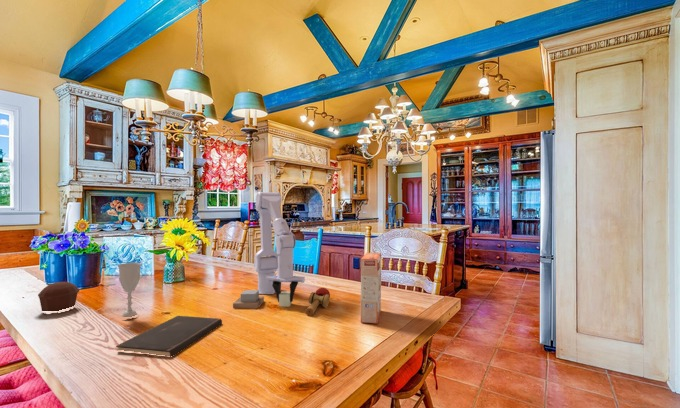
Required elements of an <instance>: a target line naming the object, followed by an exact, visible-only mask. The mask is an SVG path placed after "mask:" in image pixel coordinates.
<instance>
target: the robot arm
mask: <svg viewBox="0 0 680 408" xmlns="http://www.w3.org/2000/svg"><path fill="white" fill-rule="evenodd" d="M282 200H283V199H282V194H281V193H280V192H278V191H275V192H272V191H265V192H264V191H258V192H257V193H256V196H255V210H256V212H259V218H260V219H259V221H260V222H259V223H260V225H259V226H260V250H258V251H257V252H256V253H255V254H254V260H253V267H254V271H255V272H257V290H259V295H274V294H275V295H276V299H277V303H279V294H280V293H281V292H282V290H281V289H282V283H289V292H290V302H292V303H293V301H294V295H295V291H296V289H297V286H298V285H299V283H301V284H304V283H305V281H306V280H305V276H300V275H294V249H295V247H296V243H297V242H296V236H295V234H294V233H293V232H292V231H290V228H289V225H288V222H287V220H286V219H284V218H283V215H282V211H281V204H282ZM272 220H273V222H272ZM272 228H273V230H272ZM272 231H273V232H274V235H275V242H274V243H275V248H276V251H275V250H274V249H273V235H272V233H273V232H272ZM276 272H277V273H276Z"/></svg>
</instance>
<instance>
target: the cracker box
mask: <svg viewBox="0 0 680 408" xmlns="http://www.w3.org/2000/svg"><path fill="white" fill-rule="evenodd" d="M360 260H361V261H360V323H362V324H363V323H364V324H375V325H376V324H377V325H378V323H379V318H380V315H381V312H382V311H381V309H382V308H381V307H382V304H381V303H382V302H381V301H382V299H381V298H382V253H379V252H366V253H365V254H363V256H362V257H361V259H360Z"/></svg>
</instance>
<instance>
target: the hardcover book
mask: <svg viewBox="0 0 680 408" xmlns="http://www.w3.org/2000/svg"><path fill="white" fill-rule="evenodd" d="M219 325H220V326H222V325H223V320H222V319H221V318H217V317H216V318H215V317H214V318H213V317H202V316H201V317H200V316H187V315H176V316H174V317H172V318H169V319H168V320H166V321H164V322H162V323H159V324H158V325H155V326H154V327H151V328H150V329H148V330H146V331H144V332H142V333H139V334H138V335H136V336H134V337H130V338H129V339H127V340H126V341H123V342H121V343H119V344H117V345H115V348H117V351H118V350H124V351H134V352H141V353H149V354H156V355H165V356H170V357H171V356H173V355H175V354H176V355H178V354H179V353H181V352H182V351H184V350H185V349H186V347H187V346H188V347H190V346H191V345H193V344H194V343H196V342H197V341H199V340H201V339H202V338H203V337H205V336H206V335H208V334H210V333H211V332H212V331H214V330H216V329H217V328H219V327H220V326H219ZM216 327H217V328H216ZM213 329H214V330H213ZM211 330H212V331H211ZM210 331H211V332H210ZM207 333H208V334H207ZM204 335H205V336H204ZM201 337H202V338H201ZM198 339H199V340H198ZM195 341H196V342H195ZM193 342H194V343H193ZM192 343H193V344H192ZM190 344H191V345H190ZM189 345H190V346H189ZM188 347H187V348H188ZM184 348H185V349H184ZM183 349H184V350H183ZM181 350H182V351H181ZM180 351H181V352H180ZM178 352H179V353H178ZM177 353H178V354H177ZM176 355H175V356H176ZM173 357H174V356H173Z"/></svg>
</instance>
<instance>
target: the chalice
mask: <svg viewBox="0 0 680 408" xmlns="http://www.w3.org/2000/svg"><path fill="white" fill-rule="evenodd" d="M142 264H143V263H141V262H125V263H120V264H117V268H118V272H119V273H118V274H119V275H118V280H119V284H120V286H121V288H122V289H123V291H124V292H126V293H127V297H126V300H127V302H126V305H127V309H126V310H125V311H124V312H122V315H121V317H132V316H135V315H138V313H137V311H136V310H135V309H133V308H132V304H133V302H132V299H133V297H132V293H133V292H134V291H135V290H136V289H137V286H138V284H139V282H140V280H141V267H142Z"/></svg>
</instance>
